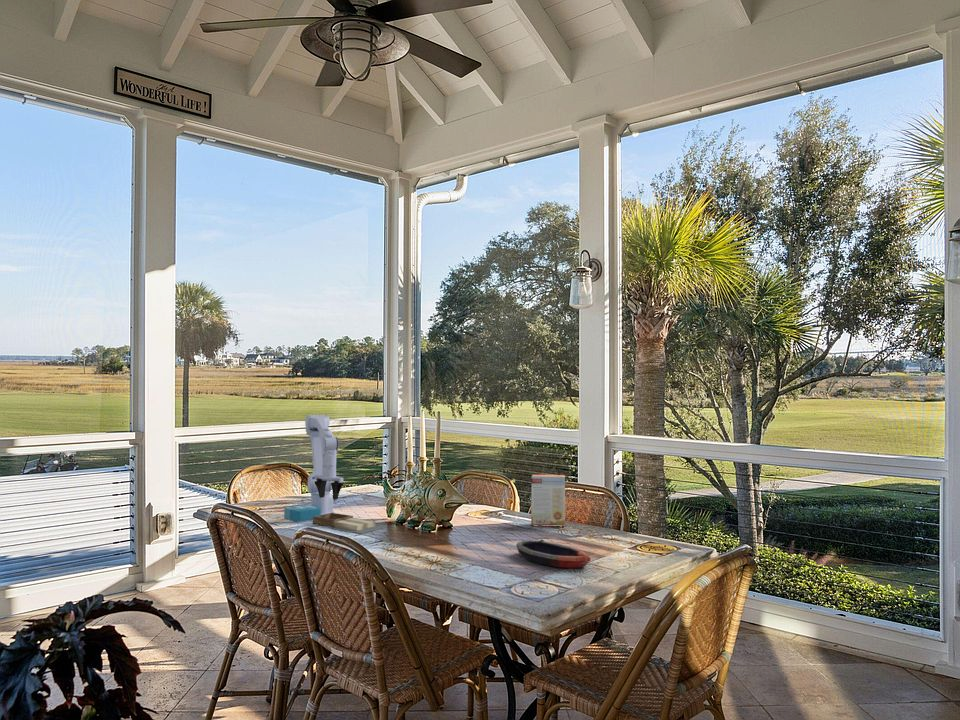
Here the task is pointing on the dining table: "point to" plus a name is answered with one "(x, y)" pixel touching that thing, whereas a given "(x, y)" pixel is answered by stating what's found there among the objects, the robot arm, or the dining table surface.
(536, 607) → the dining table surface
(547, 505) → the cracker box
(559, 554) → the dish
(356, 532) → the rubber mat
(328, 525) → the walnut box
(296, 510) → the data package
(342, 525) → the cover plate
